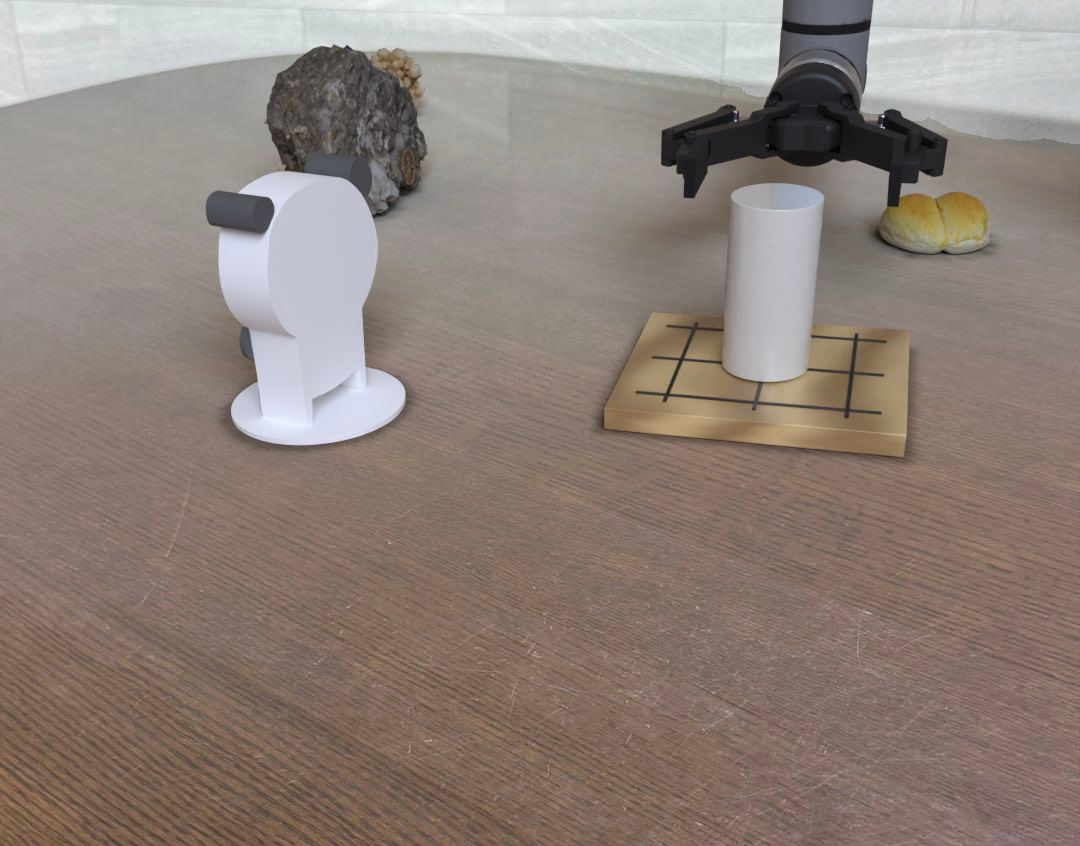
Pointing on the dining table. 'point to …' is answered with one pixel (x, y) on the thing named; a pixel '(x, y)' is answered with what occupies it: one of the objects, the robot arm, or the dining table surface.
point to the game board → (766, 389)
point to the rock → (348, 119)
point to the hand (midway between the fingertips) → (790, 182)
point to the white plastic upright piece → (304, 302)
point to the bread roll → (937, 224)
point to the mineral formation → (401, 70)
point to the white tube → (771, 280)
